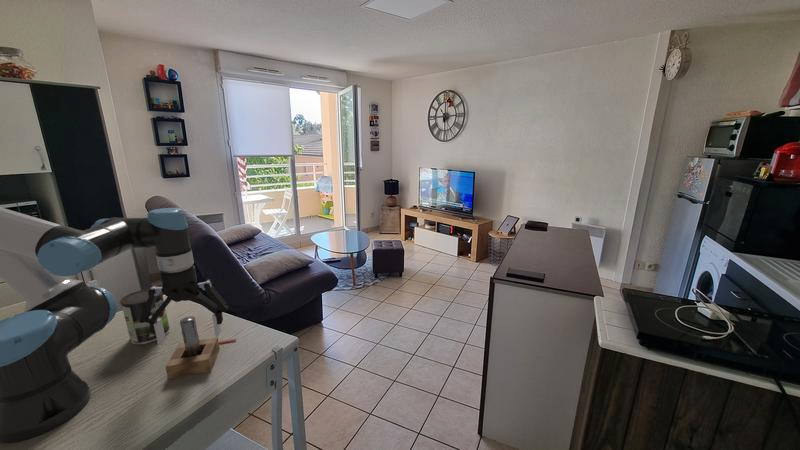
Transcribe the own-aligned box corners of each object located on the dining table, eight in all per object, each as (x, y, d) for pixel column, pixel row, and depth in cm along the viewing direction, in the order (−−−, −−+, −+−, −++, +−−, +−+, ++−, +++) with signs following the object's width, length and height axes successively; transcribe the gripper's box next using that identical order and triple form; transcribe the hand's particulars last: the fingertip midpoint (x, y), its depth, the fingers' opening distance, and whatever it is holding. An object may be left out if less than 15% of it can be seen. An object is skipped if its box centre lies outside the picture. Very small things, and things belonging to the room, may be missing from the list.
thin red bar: (184, 349, 93) (184, 348, 93) (185, 347, 94) (185, 346, 94) (235, 341, 97) (235, 340, 97) (236, 339, 98) (236, 338, 98)
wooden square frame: (168, 379, 82) (165, 366, 81) (181, 354, 91) (179, 343, 90) (210, 371, 85) (208, 359, 83) (219, 348, 94) (217, 337, 93)
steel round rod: (186, 368, 86) (177, 324, 82) (190, 360, 89) (182, 317, 85) (200, 365, 87) (192, 322, 83) (204, 357, 90) (196, 315, 86)
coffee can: (177, 325, 105) (170, 288, 101) (153, 345, 95) (144, 304, 91) (148, 325, 105) (139, 287, 101) (121, 344, 95) (110, 303, 91)
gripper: (110, 279, 73) (129, 355, 78) (227, 267, 80) (237, 338, 86) (126, 267, 80) (143, 337, 85) (233, 257, 87) (242, 323, 93)
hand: (190, 338), depth 85 cm, fingers open, 13 cm apart
